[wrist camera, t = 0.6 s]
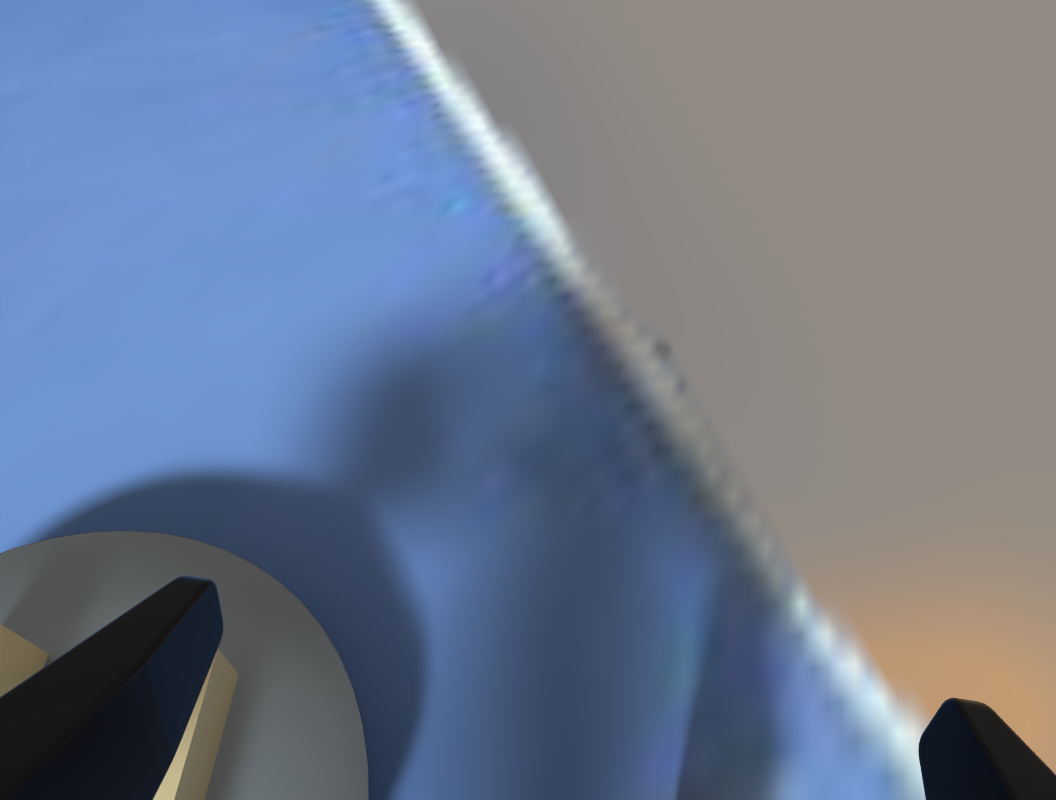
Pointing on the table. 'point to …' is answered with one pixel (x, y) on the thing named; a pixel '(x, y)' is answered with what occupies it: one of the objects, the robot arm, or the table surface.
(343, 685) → the blue-grey bowl
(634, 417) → the table surface
